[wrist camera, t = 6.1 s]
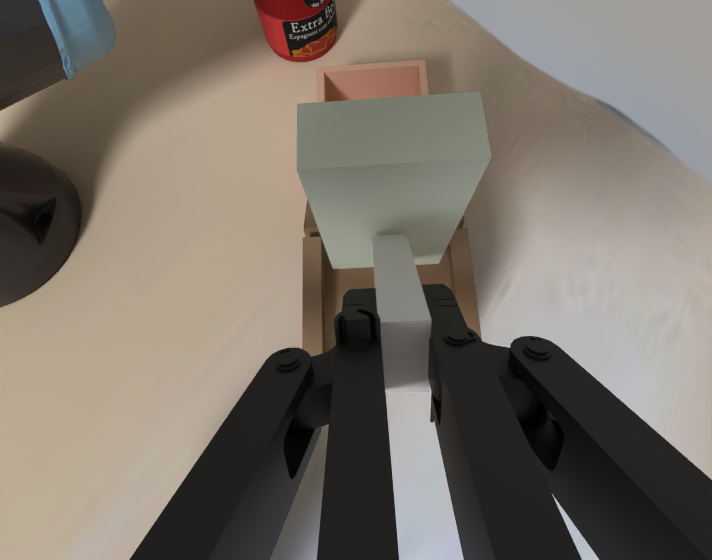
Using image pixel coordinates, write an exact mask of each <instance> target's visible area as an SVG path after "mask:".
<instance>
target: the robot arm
mask: <svg viewBox="0 0 712 560" xmlns="http://www.w3.org/2000/svg"><path fill="white" fill-rule="evenodd" d="M115 37H116V34H115V27H114V23H113V20H112V18H111V16H110V14H109V12H108V10H107V8H106V6H105V4H104V3H103V1H102V0H0V111H1V110H3V109H5V108H7V107H9V106H11V105H13V104H15V103H17V102H19V101H21V100H23V99H25V98H27V97H29V96H31V95H33V94H35V93H37V92H39V91H41V90H43V89H45V88H47V87H49V86H51V85H53V84H55V83H57V82H59V81H60V80H62V79H64V78H65V79H66V80H68V81H69V80H72V79H73V78H74V76H75V73H76V72H78V71H79V70H81V69H83V68H84V67H86V66H88V65H90V64H91V63H93V62H95V61H97V60H98V59H100V58H102V57H104V56H105V55H107V54H108V53H109V52H110V51H111V50H112V48H113V45H114V42H115ZM80 215H81V211H80V202H79V197H78V194H77V192H76V189H75V187H74V185H73V184H72V182H71V181H70V180H69V178H68V177H67V176H66V175H65V174H64V173H62V172H61V171H60V170H58V169H57V168H56V167H54V166H53V165H51V164H50V163H48V162H47V161H45V160H44V159H42V158H41V157H39V156H37V155H35V154H33V153H31V152H29V151H26V150H23V149H20V148H17V147H14V146H11V145H8V144H5V143H2V142H0V307H2V306H5V305H8V304H11V303H13V302H15V301H18V300H20V299H22V298H23V297H25V296H27V295H29V294H30V293H32V292H33V291H35V290H36V289H37V288H39V287H40V286H41V285H42V284H44V283H45V282H46V281H47V280H48V279H49V278H50V277H51V276H52V275H53V274H54V273H55V272H56V271H57V270H58V268H59V267H60V266H61V265H62V263H63V262H64V260H65V259H66V257H67V256H68V254H69V252H70V250H71V248H72V246H73V244H74V242H75V239H76V236H77V233H78V230H79V225H80ZM372 244H373V266H374V287H375V288H364V289H349V290H348V291H347V292H346V294H345V295H344V296H343V303H342V311H341V312H340V313H339V314H337V315H336V316H335V319H334V329H335V338H336V345H335V346H334V347H333V348H332V349H330V350H329V351H327V352H325V353H322V354H319V355H315V356H312V357H311V356H310V354H309V353H308V352H307V351H305V350H303V349H300V348H286V349H282V350H279V351H277V352H275V353H273V354H272V355H271V356H270V357H269V358H268V359H267V360H266V361H265V363H264V364H263V366H262V367H261V368H260V370H259V371H258V373H257V374H256V376H255V377H254V379H253V380H252V382H251V383H250V384H249V386H248V387H247V389H246V390H245V392H244V393H243V395H242V396H241V398H240V399H239V401H238V402H237V403H236V405H235V406H234V408H233V409H232V411H231V412H230V414H229V415H228V417H227V418H226V420H225V421H224V422H223V424H222V425H221V427H220V428H219V430H218V431H217V433H216V434H215V436H214V437H213V438H212V440H211V441H210V443H209V444H208V446H207V447H206V449H205V450H204V452H203V453H202V455H201V456H200V457H199V459H198V460H197V462H196V463H195V465H194V466H193V468H192V469H191V471H190V472H189V474H188V475H187V476H186V478H185V479H184V481H183V482H182V484H181V485H180V487H179V488H178V490H177V491H176V493H175V494H174V495H173V497H172V498H171V500H170V501H169V503H168V504H167V506H166V507H165V509H164V510H163V511H162V513H161V514H160V516H159V517H158V519H157V520H156V522H155V523H154V525H153V526H152V528H151V529H150V530H149V532H148V533H147V535H146V536H145V538H144V539H143V541H142V542H141V544H140V545H139V547H138V548H137V549H136V551H135V552H134V554H133V555H132V557H131V558H130V560H270V558H271V555H272V552H273V550H274V547H275V545H276V542H277V540H278V537H279V535H280V532H281V530H282V527H283V525H284V522H285V520H286V517H287V515H288V512H289V510H290V507H291V505H292V502H293V500H294V497H295V495H296V492H297V490H298V487H299V485H300V482H301V480H302V477H303V475H304V472H305V470H306V467H307V464H308V462H309V459H310V457H311V454H312V452H313V449H314V447H315V444H316V442H317V439H318V437H319V434H320V432H321V426H324V425H327V424H329V430H328V441H327V453H326V464H325V475H324V486H323V498H322V509H321V520H320V531H319V542H318V554H317V560H399V554H398V542H397V529H396V517H395V505H394V493H393V480H392V468H391V456H390V444H389V431H388V419H387V407H386V395H385V393H403V392H429V382H430V387H431V391H432V395H431V418H430V422H434V421H435V425H436V430H437V435H438V440H439V444H440V449H441V454H442V458H443V463H444V468H445V472H446V477H447V482H448V487H449V491H450V496H451V501H452V505H453V510H454V515H455V520H456V524H457V529H458V534H459V538H460V543H461V548H462V553H463V557H464V560H582V559H581V557H580V555H579V553H578V550H577V548H576V546H575V544H574V542H573V539H572V537H571V535H570V533H569V531H568V529H567V526H566V524H565V522H564V520H563V518H562V515H561V513H560V511H559V509H558V507H557V504H556V502H555V500H554V498H553V496H552V494H553V495H554V497H555V498H556V500H557V501H558V502H559V504H560V505H561V507H562V508H563V509H564V511H565V512H566V514H567V515H568V516H569V518H570V519H571V521H572V522H573V523H574V525H575V526H576V527H577V529H578V530H579V532H580V533H581V534H582V536H583V537H584V539H585V540H586V541H587V543H588V544H589V546H590V547H591V548H592V550H593V551H594V553H595V554H596V555H597V557H598V558H599V560H712V480H711V479H710V478H709V477H708V476H707V475H705V474H704V473H703V472H702V471H701V470H700V469H698V468H697V467H696V466H695V465H694V464H693V463H692V462H690V461H689V460H688V459H687V458H686V457H685V456H684V455H682V454H681V453H680V452H679V451H678V450H677V449H676V448H674V447H673V446H672V445H671V444H670V443H669V442H667V441H666V440H665V439H664V438H663V437H662V436H661V435H659V434H658V433H657V432H656V431H655V430H654V429H653V428H651V427H650V426H649V425H648V424H647V423H646V422H645V421H643V420H642V419H641V418H640V417H639V416H638V415H637V414H635V413H634V412H633V411H632V410H631V409H630V408H628V407H627V406H626V405H625V404H624V403H623V402H622V401H620V400H619V399H618V398H617V397H616V396H615V395H614V394H612V393H611V392H610V391H609V390H608V389H607V388H606V387H604V386H603V385H602V384H601V383H600V382H599V381H598V380H596V379H595V378H594V377H593V376H592V375H591V374H589V373H588V372H587V371H586V370H585V369H584V368H583V367H581V366H580V365H579V364H578V363H577V362H576V361H575V360H573V359H572V358H571V357H570V356H569V355H568V354H567V353H565V352H564V351H563V350H562V349H561V348H560V347H559V346H557V345H556V344H554V343H552V342H551V341H549V340H546V339H543V338H540V337H534V336H524V337H520V338H517V339H515V340H514V341H513V342H512V343H511V347H510V348H507V347H501V346H495V345H491V344H487V343H485V342H482V340H481V338H480V337H479V335H478V334H477V333H476V332H475V331H473V330H472V329H470V328H468V327H467V324H466V322H465V320H464V317H463V315H462V313H461V310H460V308H459V306H458V303H457V301H456V300H455V296H454V294H453V292H452V290H451V289H450V288H448V287H447V286H446V285H444V284H425V285H421V282H420V279H419V276H418V272H417V269H416V265H415V262H414V259H413V255H412V252H411V248H410V245H409V241H408V238H407V235H406V234H399V235H381V236H372ZM551 493H552V494H551Z"/></svg>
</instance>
